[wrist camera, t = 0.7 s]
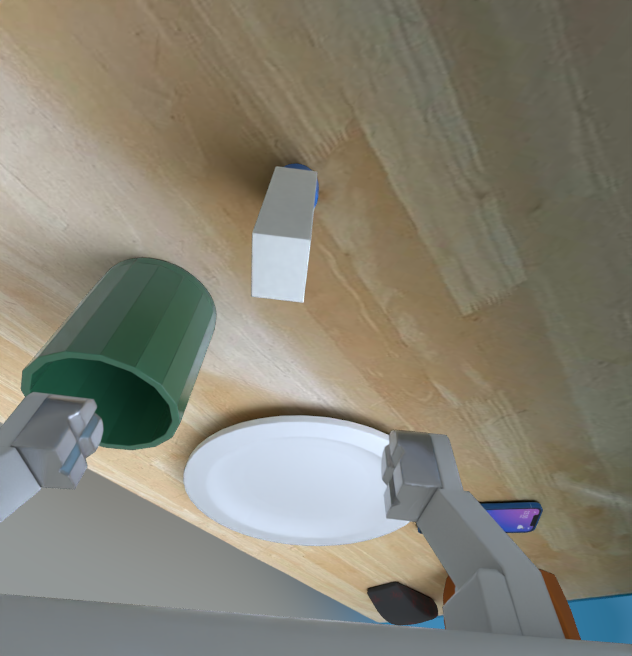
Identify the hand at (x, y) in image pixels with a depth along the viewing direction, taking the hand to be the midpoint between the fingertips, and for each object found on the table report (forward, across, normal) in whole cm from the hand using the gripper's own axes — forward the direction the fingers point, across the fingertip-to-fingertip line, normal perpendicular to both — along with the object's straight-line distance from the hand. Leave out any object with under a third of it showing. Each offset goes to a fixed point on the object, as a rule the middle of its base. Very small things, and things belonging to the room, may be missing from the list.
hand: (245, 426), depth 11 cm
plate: (+19, -4, +34) cm, 39 cm away
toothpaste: (+18, 0, 0) cm, 18 cm away
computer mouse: (+19, -26, +72) cm, 79 cm away
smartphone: (+19, -27, +40) cm, 51 cm away
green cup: (+18, +10, +11) cm, 23 cm away
